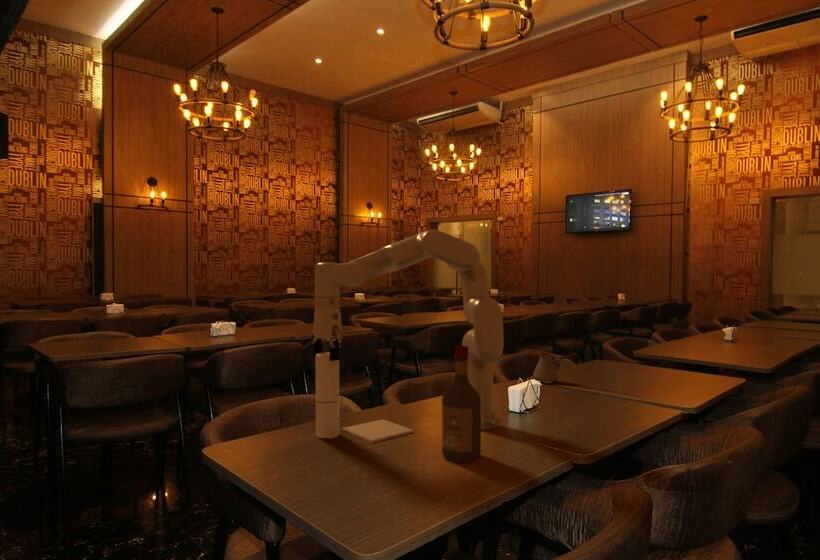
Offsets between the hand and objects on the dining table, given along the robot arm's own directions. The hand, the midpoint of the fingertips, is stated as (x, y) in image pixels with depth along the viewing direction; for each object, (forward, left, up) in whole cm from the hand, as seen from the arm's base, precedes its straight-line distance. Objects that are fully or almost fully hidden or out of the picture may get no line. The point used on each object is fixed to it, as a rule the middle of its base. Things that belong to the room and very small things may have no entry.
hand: (326, 358), depth 165 cm
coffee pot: (+1, -119, -24) cm, 122 cm away
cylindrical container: (0, 0, -24) cm, 24 cm away
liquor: (-40, -18, -24) cm, 50 cm away
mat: (-7, -14, -24) cm, 29 cm away
